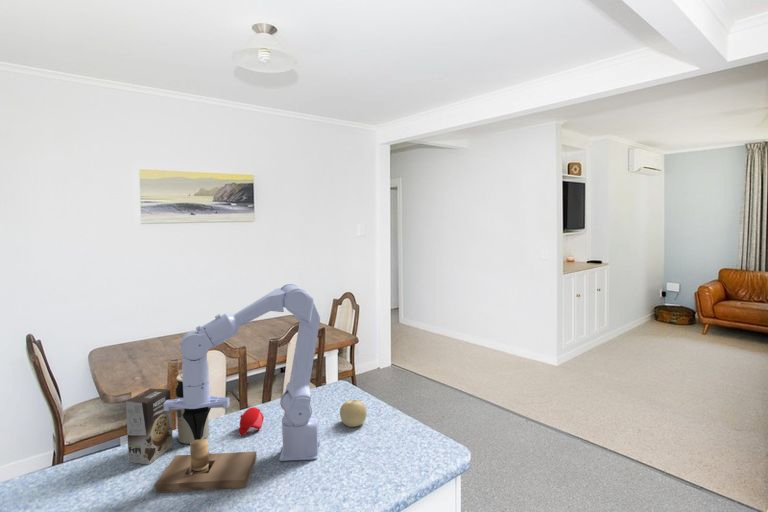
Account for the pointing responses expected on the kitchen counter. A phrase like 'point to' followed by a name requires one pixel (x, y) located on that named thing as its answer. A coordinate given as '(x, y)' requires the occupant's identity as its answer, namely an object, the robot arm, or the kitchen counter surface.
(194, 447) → the oak peg
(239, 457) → the walnut board
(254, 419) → the cap
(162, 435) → the coffee box
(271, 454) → the kitchen counter surface
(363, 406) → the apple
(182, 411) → the travel mug
